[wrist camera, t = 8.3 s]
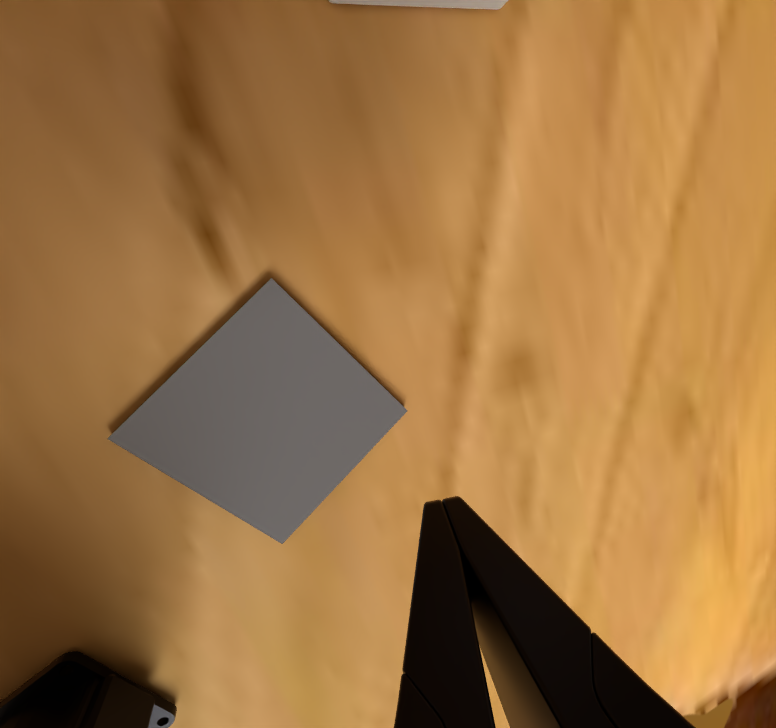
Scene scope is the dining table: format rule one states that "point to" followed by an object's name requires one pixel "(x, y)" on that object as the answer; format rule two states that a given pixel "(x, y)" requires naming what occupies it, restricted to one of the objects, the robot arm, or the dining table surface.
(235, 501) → the slate coaster
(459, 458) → the dining table surface
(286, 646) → the dining table surface
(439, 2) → the small box
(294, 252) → the dining table surface
